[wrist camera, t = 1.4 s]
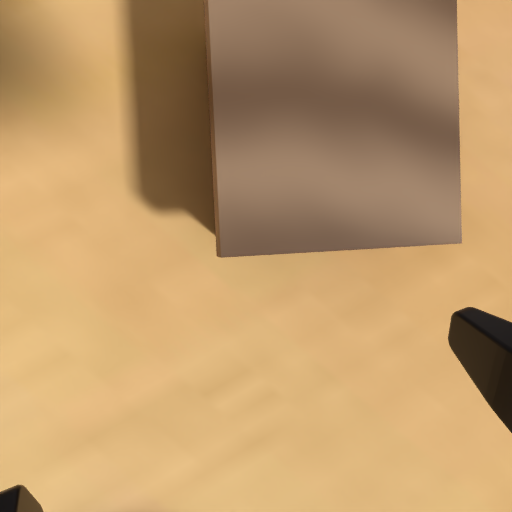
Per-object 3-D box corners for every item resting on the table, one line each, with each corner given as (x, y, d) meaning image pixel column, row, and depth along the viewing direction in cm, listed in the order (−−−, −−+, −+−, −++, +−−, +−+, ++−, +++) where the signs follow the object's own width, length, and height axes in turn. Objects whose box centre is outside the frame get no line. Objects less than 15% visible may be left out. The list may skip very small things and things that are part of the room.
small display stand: (413, 241, 25) (461, 243, 22) (208, 253, 23) (221, 257, 19) (407, 31, 25) (456, -7, 21) (196, 19, 22) (206, -26, 18)
